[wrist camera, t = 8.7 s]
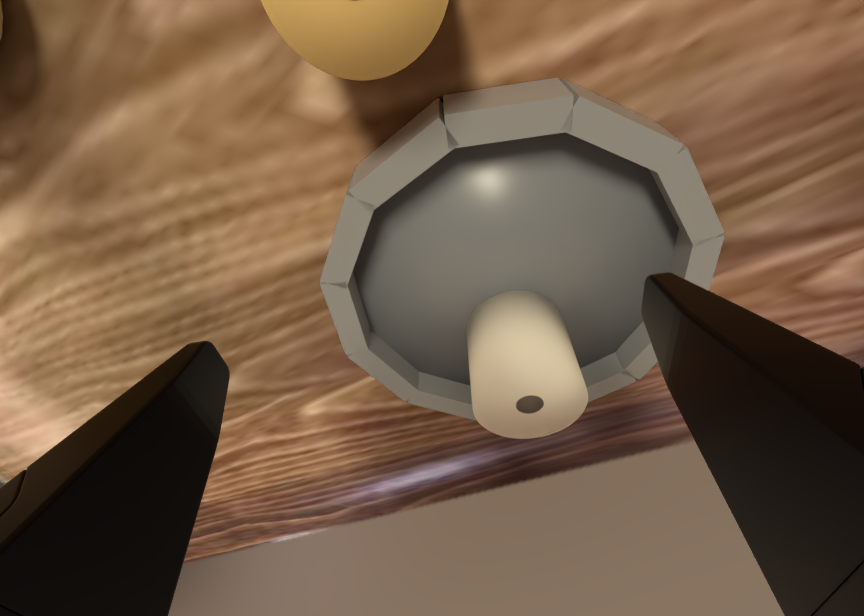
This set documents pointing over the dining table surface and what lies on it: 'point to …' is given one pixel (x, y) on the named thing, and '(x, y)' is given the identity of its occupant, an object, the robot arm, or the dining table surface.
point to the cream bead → (523, 367)
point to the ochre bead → (357, 33)
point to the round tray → (513, 234)
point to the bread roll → (1, 19)
